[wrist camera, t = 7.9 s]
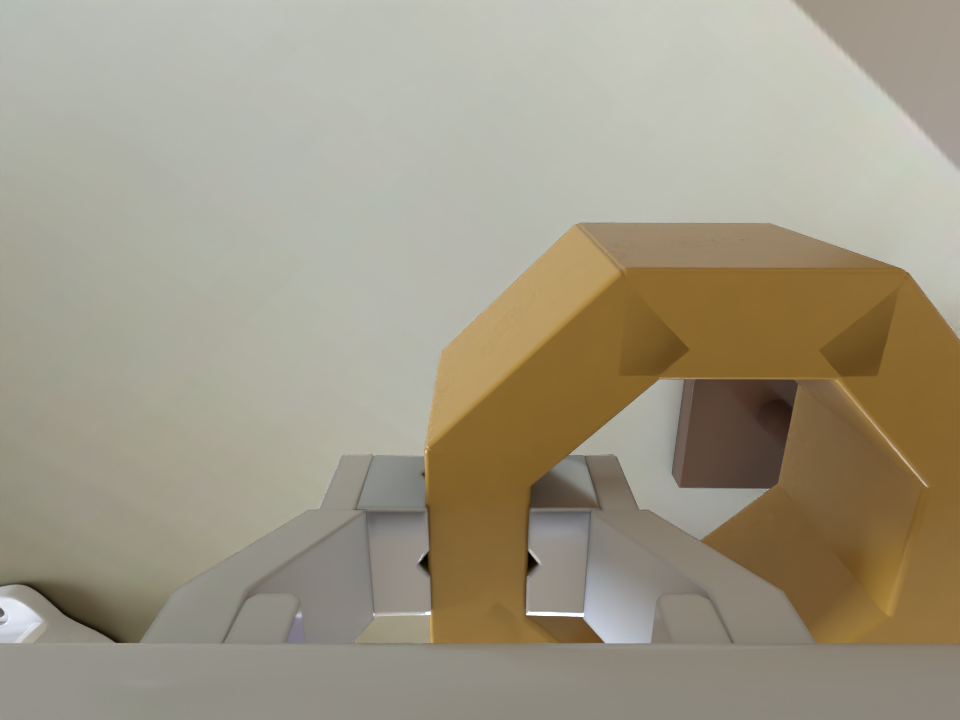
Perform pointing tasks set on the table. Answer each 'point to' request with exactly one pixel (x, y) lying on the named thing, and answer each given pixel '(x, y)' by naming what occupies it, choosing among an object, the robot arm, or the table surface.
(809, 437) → the ring
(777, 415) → the peg stand
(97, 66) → the table surface
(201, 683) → the robot arm
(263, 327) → the table surface
